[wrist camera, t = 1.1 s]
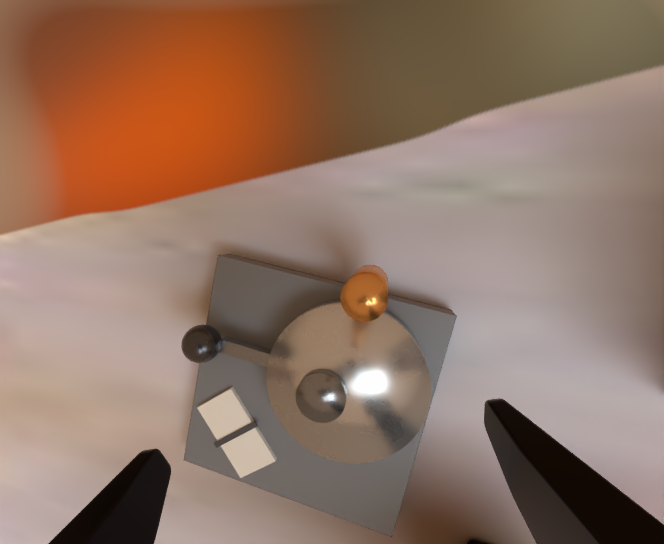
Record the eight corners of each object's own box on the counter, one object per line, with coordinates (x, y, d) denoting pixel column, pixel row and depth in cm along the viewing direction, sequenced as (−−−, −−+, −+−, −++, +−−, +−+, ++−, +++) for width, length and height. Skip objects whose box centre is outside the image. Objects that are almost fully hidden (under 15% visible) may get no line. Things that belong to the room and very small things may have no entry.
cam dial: (458, 283, 18) (494, 306, 12) (405, 467, 20) (412, 568, 14) (217, 225, 21) (145, 220, 14) (189, 395, 22) (115, 455, 16)
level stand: (451, 310, 20) (458, 317, 18) (391, 517, 23) (391, 542, 21) (228, 254, 23) (214, 255, 21) (195, 446, 25) (180, 463, 23)
